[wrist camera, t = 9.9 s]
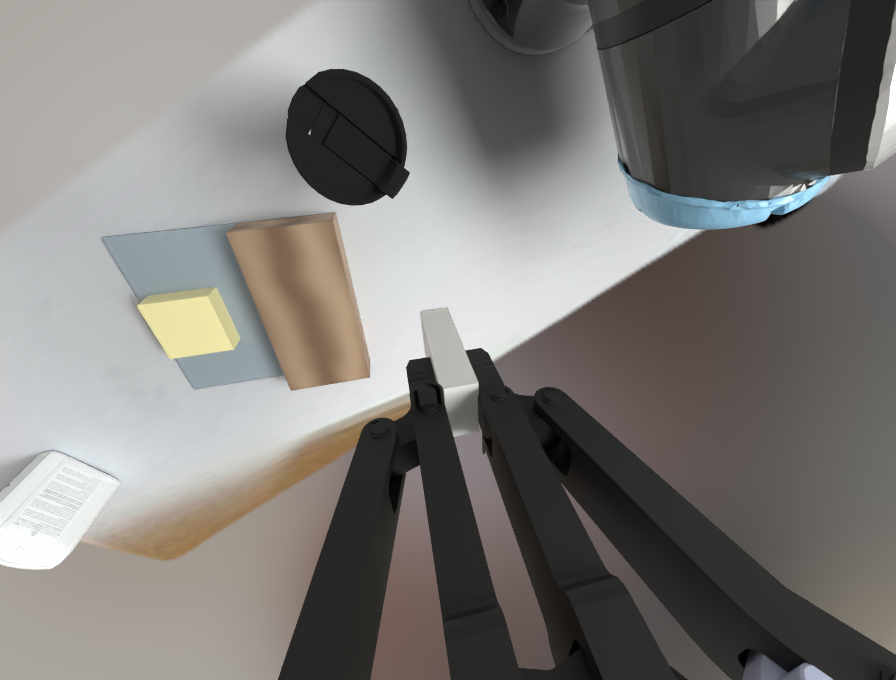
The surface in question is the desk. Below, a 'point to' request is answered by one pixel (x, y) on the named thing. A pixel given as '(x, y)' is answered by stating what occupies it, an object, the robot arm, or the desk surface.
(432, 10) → the desk surface
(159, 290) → the rubber mat
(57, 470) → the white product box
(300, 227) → the brown wooden block
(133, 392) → the desk surface
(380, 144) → the travel mug
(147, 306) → the note pad
